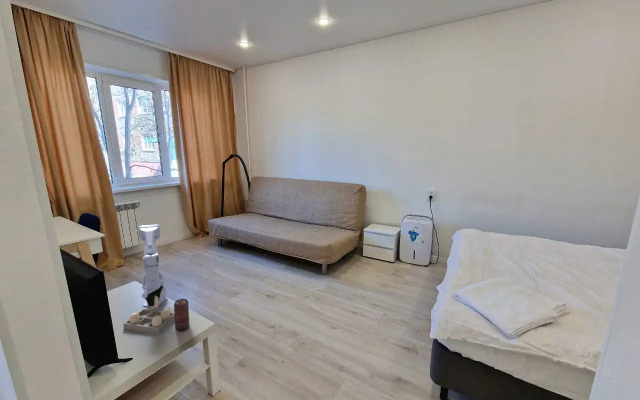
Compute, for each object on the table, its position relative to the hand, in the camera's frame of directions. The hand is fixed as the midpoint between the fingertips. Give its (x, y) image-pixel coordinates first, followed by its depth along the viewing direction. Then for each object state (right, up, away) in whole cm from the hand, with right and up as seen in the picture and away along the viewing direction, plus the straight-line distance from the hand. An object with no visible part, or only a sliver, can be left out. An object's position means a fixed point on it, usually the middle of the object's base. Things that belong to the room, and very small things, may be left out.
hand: (154, 303), depth 134 cm
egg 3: (+5, -9, -5) cm, 12 cm away
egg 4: (+5, -8, +1) cm, 10 cm away
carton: (-1, -9, -1) cm, 10 cm away
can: (+16, -11, -3) cm, 20 cm away
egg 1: (-7, -9, -4) cm, 12 cm away
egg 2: (0, -2, 0) cm, 2 cm away
